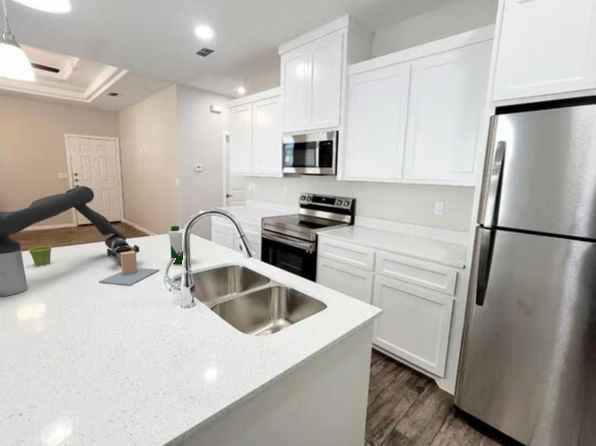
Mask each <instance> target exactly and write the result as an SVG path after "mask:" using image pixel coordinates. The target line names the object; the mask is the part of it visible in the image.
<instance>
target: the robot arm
mask: <svg viewBox="0 0 596 446" xmlns="http://www.w3.org/2000/svg"><path fill="white" fill-rule="evenodd" d="M94 198H95V194H94V191H93V189H92V188H90V187H89V186H86V185H81V186H77V187H74V188H71V189H70V188H69V189H68V190H66V191H65V193H58V194H54V195H49V196H45V197H42V198H39V199H36V200H34V201H33V202H32V203H30V205H29V206H28V207H25V208H23V209H19V210H15V211H0V297H7V296H11V295H12V296H13V295H17V294H20V293H22V292H25V291H27V289H28V285H27V284H28V283H27V278H26V270H25V266H24V265H25V264H24V258H23V253H22V247H21V243H20V242H18V241H17V240H14V239H13V238H12V237H10V236H11V235H15V234H17V233H20V232H21V231H23V230H25V229H27V228H29V227H31V226H32V225H35V224H37V223H40V222H42V221H45V220H47V219H51V218H54V217H57V216H59V215H60V214H62V213H65V212H66V211H69V210H70V209H72V208H74V209H75V210H76V211H78V212H79V213H80V215H82V216H83V217H84V218H86V219H87V221H88V222H90V223H91V224H92V225H93V226H94V227H95V229H96V230H97V232H99V233H100V234H101V236H108V237H107V238H106V239H105V240H104V244H105V246H106V247H108V248H107V249H106V253H107V256H108V257H111V256H113V257H114V258H117V257H118V256H120V253H123V252H130V251H135V252H136V254H137V253H139V252H140V247H139V246H138V245H137V244H134V245H133V246H130V244H129V243H128V242H127V237H126V236H125V234H124V233H123V232H121V231H119V230H117V229H116V228H115V227H114V226H113V225H112V223H111V222H110V221H109V219H108V218H106V217H105V216H104V215H103V214H101V213H98V212H97V211H95V210H93V209H92V208H90V207H89V206H88V205H87V204H88V203H91V202H92V201H93V200H94ZM111 234H112V235H111ZM109 235H110V236H109Z"/></svg>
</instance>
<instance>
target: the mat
mask: <svg viewBox="0 0 596 446" xmlns="http://www.w3.org/2000/svg"><path fill="white" fill-rule="evenodd" d="M158 272H160V269H156V268H147V267H137V272H136V273H130V274H125V275H123V273H122V270H121V271H119V272H117V273H115V274H113V275H110V276H108V277H105V278H104V279H100V280H99V281H98V283H99V284H101V283H102V284H108V285H116V284H117V285H119V286H128V287H132V285H135V284H137V283H138V282H140V281H143V280H144V279H147V278H149V277H150V276H152V275H154V274H156V273H158ZM117 285H116V286H117Z"/></svg>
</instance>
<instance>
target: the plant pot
mask: <svg viewBox="0 0 596 446" xmlns="http://www.w3.org/2000/svg"><path fill="white" fill-rule="evenodd" d="M52 248H53V247H52V246H49V245H48V246H47V245H45V246H37V247H36V246H35V247H33V248H29V249H28V252H29V254H30V255H31V258H32V261H33V264H34V266H35V267H42V266H48V265H50V264H51V257H52V256H51V253H52ZM47 264H48V265H47Z"/></svg>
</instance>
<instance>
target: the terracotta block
mask: <svg viewBox="0 0 596 446" xmlns="http://www.w3.org/2000/svg"><path fill="white" fill-rule="evenodd" d="M119 257H120V265H121V266H120V267H121V271H122V273H123V275H125V274H130V273H136V272H137V268H138V263H137V253H136V252H135V251H133V250H132V251H129V252H123V253H120V255H119Z"/></svg>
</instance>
